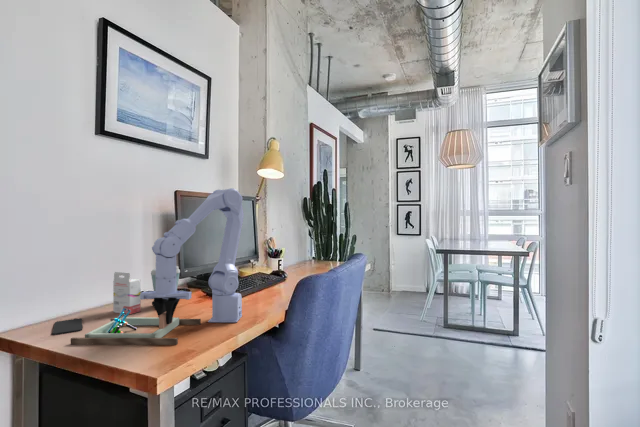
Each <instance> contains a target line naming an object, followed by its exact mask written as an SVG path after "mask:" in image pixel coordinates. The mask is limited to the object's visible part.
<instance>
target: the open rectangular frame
mask: <svg viewBox="0 0 640 427" xmlns="http://www.w3.org/2000/svg"><path fill="white" fill-rule="evenodd" d="M122 318H123V316H121V318H120V319H119V320H121V321H122ZM179 319H180V317H173V318H172V322H171V323H170V324H166V312H164V313H163V314H161V315H159V317H153V316H152V317H145V316H144V317H143V316H142V317H138V316H137V317H135V316H134V317H133V316H132V317H131V316H129V317H128V316H127V317H126V318H125V320H124V321H126V322H128V323H127V324H129V325H132V326H158V329H156V330H155V331H153V332H152V333H151V332H150V333H149V332H147V333H146V332H144V333H142V332H139V333H137V332H135V333H134V332H133V333H132V332H131V333H129V332H128V333H125V332H123V333H108V331H109V329H110V328H111V327H112V325H113V324H114V322H115V321H114V320H113V321H111V320H110V321H109V322H107V323H106V324H103V325H101V326H99V327H97V328H95V329H93V330H91V331H89V332H87V333H84V338H164V336H166V335H167V334H169V333H170V332H171V331H172V330H174V329H175V328H176V327H178V326H179V325H180V324H179ZM117 324H119V323H118V322H117V323H116V325H117ZM115 327H116V326H115ZM112 330H113V328H112V329H111V331H112Z"/></svg>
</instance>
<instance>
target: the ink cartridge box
mask: <svg viewBox="0 0 640 427" xmlns="http://www.w3.org/2000/svg"><path fill="white" fill-rule="evenodd" d="M121 276H122V277H121ZM130 276H131V275H130V272H120V271H119V272H118V271H114V273H113V282H112V283H113V284H112V285H113V289H112V291H113V294H112V295H113V300H112V301H113V302H112V303H113V304H112V306H113V311H112V312H113V313H115V314H120V313H121V312H122V310H123V309H124V308H125V309H127V310H130V313H129V314H128V315H129V316H130V315H132V314H136V313H139V312H141V306H142V305H141V299H140V293H141V279H138V278H137V279H135V278H131V277H130ZM127 310H124V311H123V312H124V313H126V315H127V313H128V312H129V311H127Z"/></svg>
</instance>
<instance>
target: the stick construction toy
mask: <svg viewBox="0 0 640 427" xmlns="http://www.w3.org/2000/svg"><path fill="white" fill-rule="evenodd" d="M124 310H127V309H125V308H124V309H123V310H122V312H121V313H119V315H118V317H117V318H116V317H115V318H113V319H114V321H115V322H114V324H113V325H112V327H111V328H110V329H109V331H108V333H124V331H122V330H120V329H121V326H122V327H125V328H126V327H127V328H129V329H131V330H134V331H137V329H138V328H137V327H136V326H135V325H129V324H127V323H128V322H126V321H124V320H125V318H126V317H128V315H129V313H130V310H127V311H129V312H128V313H127V314H126V313H124V312H123V311H124ZM121 317H123V318H122V321H121V320H119V319H120V318H121ZM117 322H118V323H119V324H117V325H116V323H117ZM115 326H116V327H115ZM112 328H113V330H111V329H112Z"/></svg>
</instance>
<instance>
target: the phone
mask: <svg viewBox="0 0 640 427" xmlns="http://www.w3.org/2000/svg"><path fill="white" fill-rule="evenodd" d="M83 328H84V326H83V318H82V317H80V318H79V317H78V318H71V319H64V320H57V321H55V322H54V325H53V328H52V332H51V334H52V335H53V336H58V335H59V336H60V335H66V334H72V333H73V334H74V333H78V332H81V331H83Z"/></svg>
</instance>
